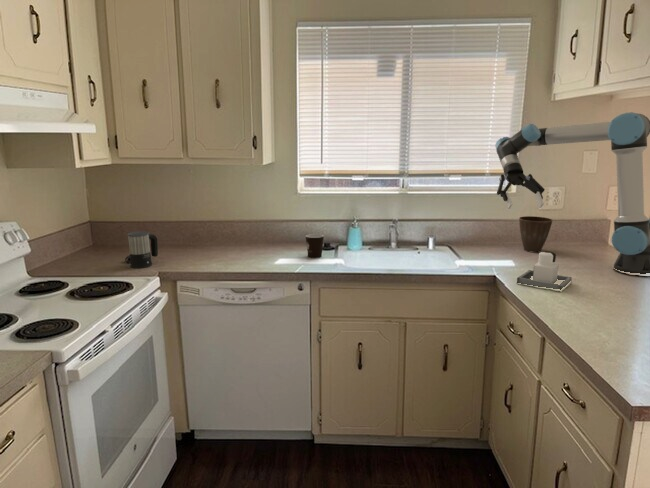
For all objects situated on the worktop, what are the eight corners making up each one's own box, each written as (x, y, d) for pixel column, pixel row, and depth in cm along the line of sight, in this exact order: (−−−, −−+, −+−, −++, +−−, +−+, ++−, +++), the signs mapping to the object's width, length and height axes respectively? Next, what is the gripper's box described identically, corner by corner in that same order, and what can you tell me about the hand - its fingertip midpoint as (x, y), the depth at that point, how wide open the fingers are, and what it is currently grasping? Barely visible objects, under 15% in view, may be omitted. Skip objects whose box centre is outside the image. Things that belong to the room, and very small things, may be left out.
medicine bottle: (537, 278, 194) (540, 249, 191) (556, 281, 189) (560, 251, 186) (532, 282, 188) (534, 252, 186) (551, 286, 184) (554, 255, 181)
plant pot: (543, 247, 248) (546, 216, 244) (553, 254, 233) (557, 221, 230) (513, 246, 249) (515, 216, 246) (521, 253, 235) (524, 221, 231)
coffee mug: (323, 258, 228) (323, 237, 225) (305, 258, 228) (304, 237, 226) (324, 252, 239) (324, 232, 237) (306, 252, 239) (306, 232, 237)
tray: (571, 283, 189) (571, 277, 188) (560, 292, 179) (561, 285, 178) (528, 275, 199) (529, 270, 198) (516, 283, 189) (517, 277, 188)
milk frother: (144, 269, 211) (141, 235, 208) (112, 267, 214) (108, 234, 211) (162, 261, 225) (159, 229, 221) (131, 259, 228) (128, 228, 225)
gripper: (535, 172, 218) (550, 210, 207) (481, 173, 216) (493, 212, 205) (542, 161, 212) (558, 200, 201) (487, 162, 210) (500, 201, 199)
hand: (526, 206), depth 203 cm, fingers open, 13 cm apart
